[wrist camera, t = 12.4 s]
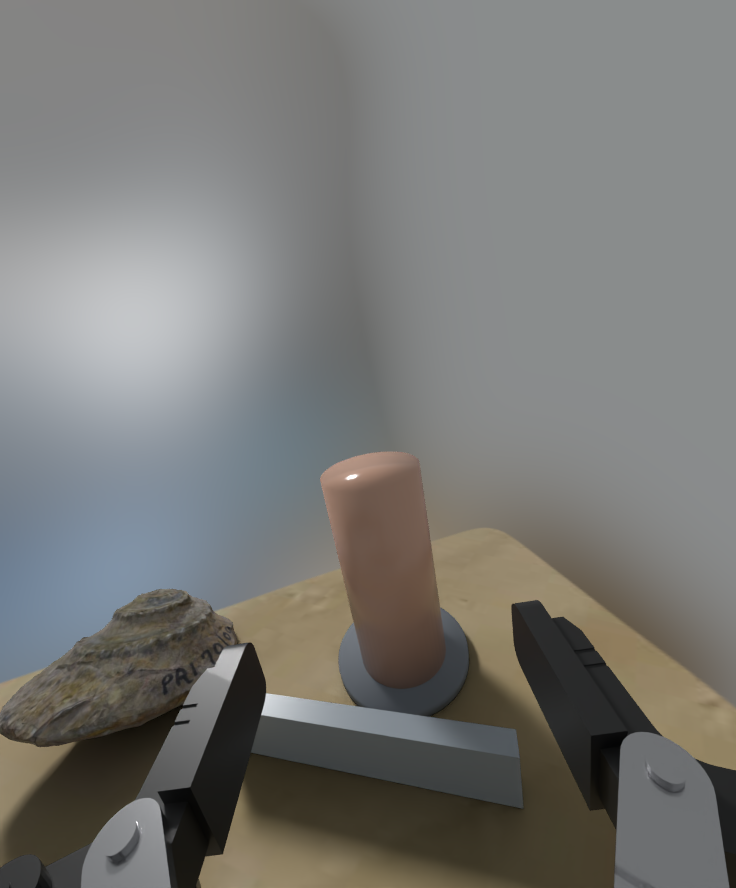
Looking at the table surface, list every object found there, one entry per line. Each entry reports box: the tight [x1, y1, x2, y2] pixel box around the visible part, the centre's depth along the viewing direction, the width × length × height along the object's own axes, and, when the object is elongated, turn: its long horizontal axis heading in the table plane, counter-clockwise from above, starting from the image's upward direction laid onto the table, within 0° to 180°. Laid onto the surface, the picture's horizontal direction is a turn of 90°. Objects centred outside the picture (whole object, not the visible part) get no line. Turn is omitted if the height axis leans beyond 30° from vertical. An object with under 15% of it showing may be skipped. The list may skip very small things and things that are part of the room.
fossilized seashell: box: [0, 589, 237, 747], centre depth 22 cm, size 11×11×7 cm
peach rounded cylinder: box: [320, 452, 446, 689], centre depth 20 cm, size 5×5×12 cm
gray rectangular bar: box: [251, 693, 523, 809], centre depth 16 cm, size 14×1×3 cm, turn 75°
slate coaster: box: [339, 608, 469, 717], centre depth 21 cm, size 8×8×1 cm
